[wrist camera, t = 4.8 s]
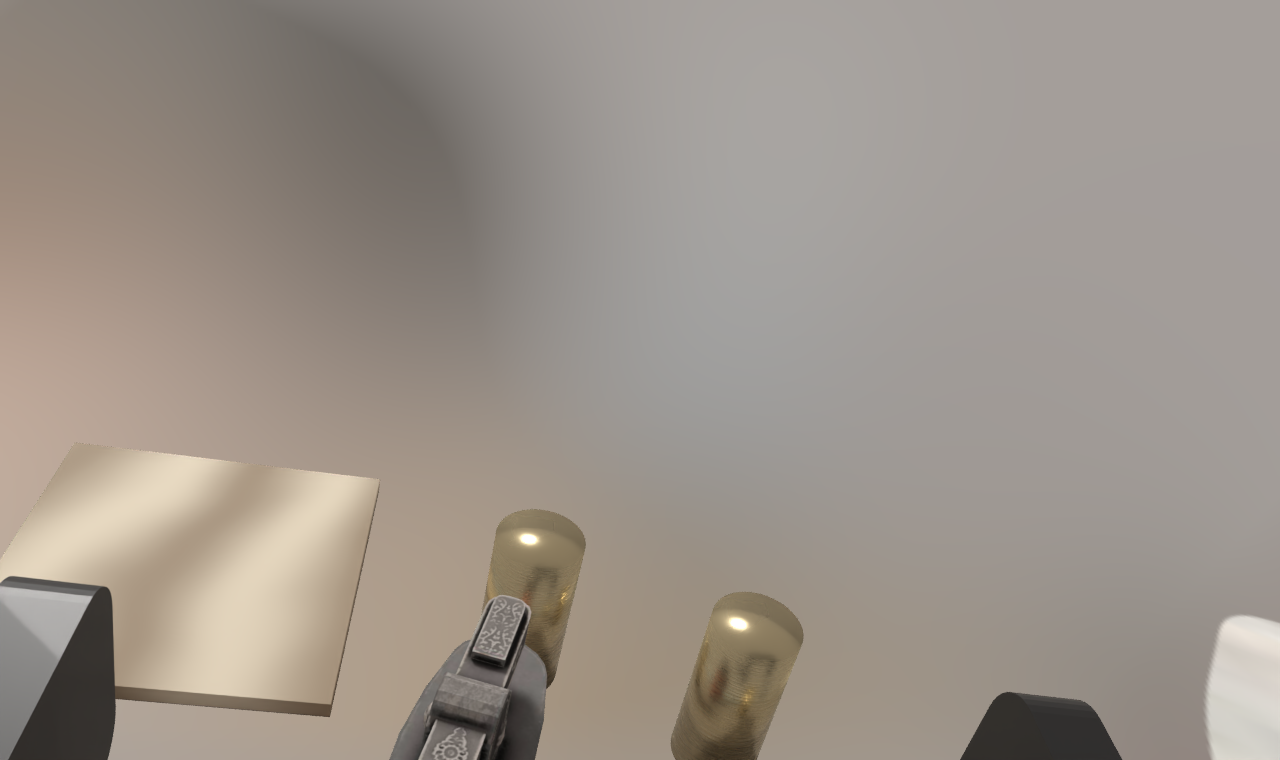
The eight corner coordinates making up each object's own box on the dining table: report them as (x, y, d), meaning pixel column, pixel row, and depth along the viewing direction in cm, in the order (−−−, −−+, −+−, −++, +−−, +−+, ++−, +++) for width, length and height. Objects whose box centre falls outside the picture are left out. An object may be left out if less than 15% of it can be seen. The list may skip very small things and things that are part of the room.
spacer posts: (761, 659, 42) (804, 541, 39) (842, 1036, 30) (914, 909, 27) (475, 631, 40) (497, 504, 37) (443, 1020, 28) (472, 882, 25)
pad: (378, 490, 46) (380, 479, 46) (329, 717, 36) (330, 704, 35) (75, 454, 44) (74, 442, 44) (-68, 683, 34) (-70, 669, 33)
